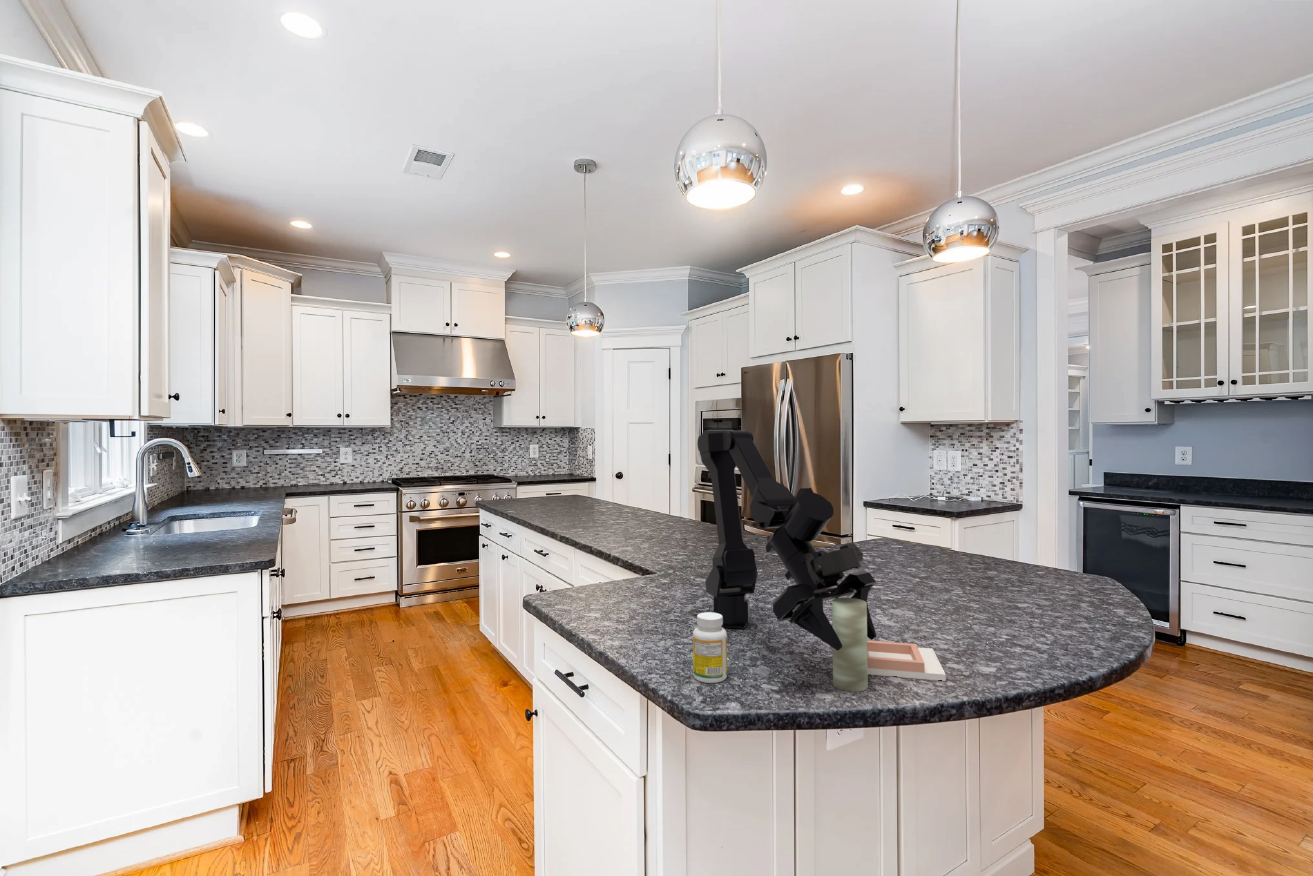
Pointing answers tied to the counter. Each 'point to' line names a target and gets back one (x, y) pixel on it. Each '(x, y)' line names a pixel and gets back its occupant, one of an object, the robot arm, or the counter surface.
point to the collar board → (903, 661)
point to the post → (850, 644)
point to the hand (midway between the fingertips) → (857, 643)
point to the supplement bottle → (710, 648)
